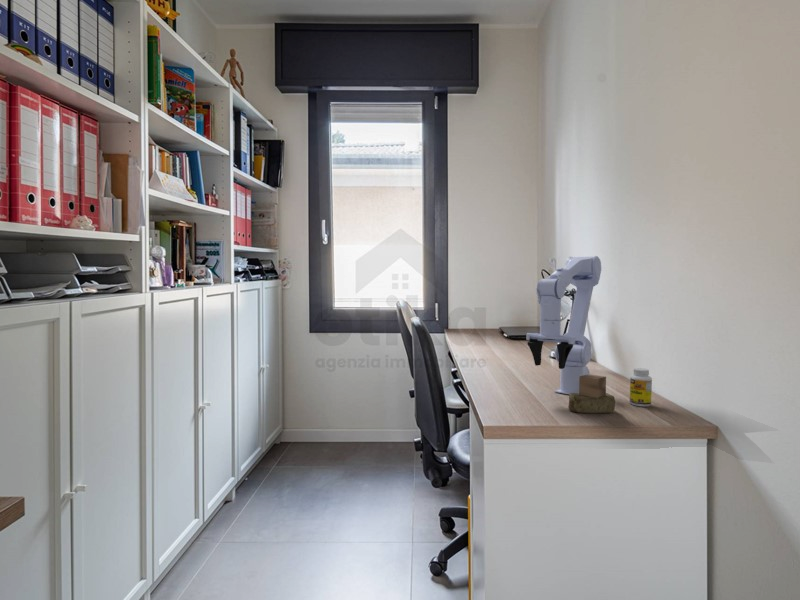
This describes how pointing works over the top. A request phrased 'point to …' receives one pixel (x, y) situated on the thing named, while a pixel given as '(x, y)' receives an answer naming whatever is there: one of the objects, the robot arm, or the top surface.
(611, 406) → the stone block
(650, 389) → the supplement bottle
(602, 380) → the walnut cube
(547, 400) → the top surface
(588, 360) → the robot arm
